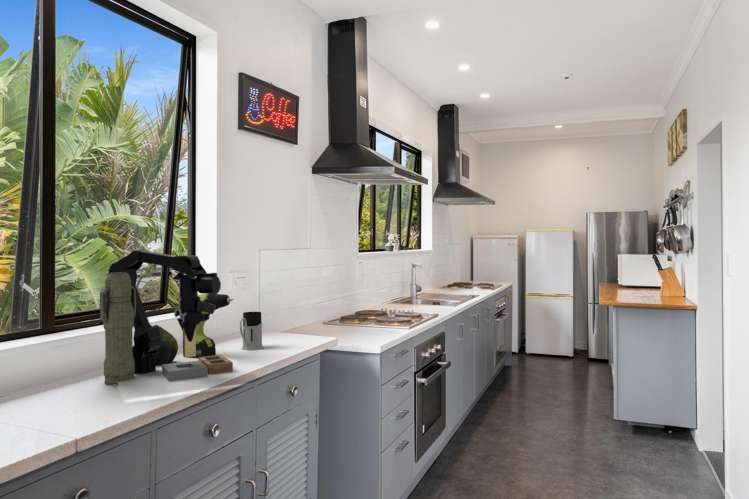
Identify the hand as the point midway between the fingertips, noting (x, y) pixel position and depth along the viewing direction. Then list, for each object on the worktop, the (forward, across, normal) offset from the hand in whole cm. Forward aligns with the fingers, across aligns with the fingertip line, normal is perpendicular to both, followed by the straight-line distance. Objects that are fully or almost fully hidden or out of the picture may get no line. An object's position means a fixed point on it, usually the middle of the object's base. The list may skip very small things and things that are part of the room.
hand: (189, 340), depth 180 cm
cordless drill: (+12, +30, -13) cm, 35 cm away
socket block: (+12, 0, +2) cm, 12 cm away
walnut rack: (+12, +4, -9) cm, 16 cm away
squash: (+12, +26, +7) cm, 30 cm away
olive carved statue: (+12, +6, +21) cm, 25 cm away
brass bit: (+5, 0, 0) cm, 5 cm away
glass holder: (+12, +36, -31) cm, 49 cm away
